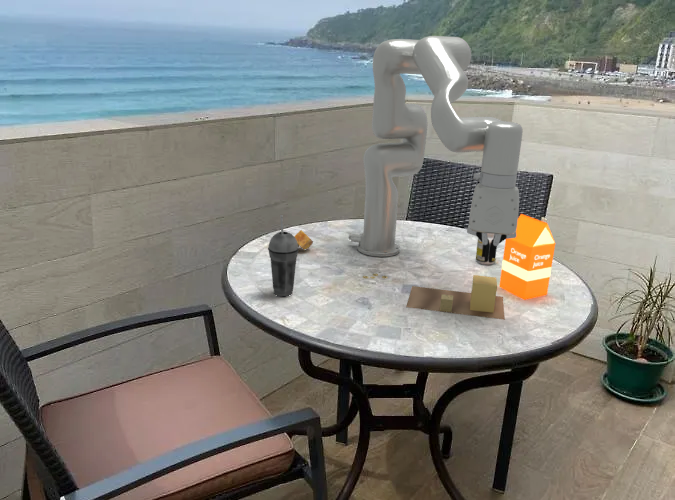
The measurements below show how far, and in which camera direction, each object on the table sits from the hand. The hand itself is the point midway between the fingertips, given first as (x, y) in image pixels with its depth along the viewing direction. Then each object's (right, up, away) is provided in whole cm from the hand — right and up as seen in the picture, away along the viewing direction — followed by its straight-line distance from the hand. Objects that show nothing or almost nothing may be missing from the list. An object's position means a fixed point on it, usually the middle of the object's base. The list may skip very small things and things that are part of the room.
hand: (488, 260), depth 132 cm
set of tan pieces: (-24, -7, +20) cm, 32 cm away
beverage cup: (-47, -8, +10) cm, 49 cm away
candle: (+22, -3, +32) cm, 39 cm away
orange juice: (+12, -9, +14) cm, 21 cm away
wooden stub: (-9, -11, +2) cm, 15 cm away
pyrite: (-45, +2, +40) cm, 60 cm away
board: (-6, -11, +6) cm, 14 cm away
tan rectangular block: (-1, -11, +4) cm, 12 cm away
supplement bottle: (+8, -1, +36) cm, 37 cm away
